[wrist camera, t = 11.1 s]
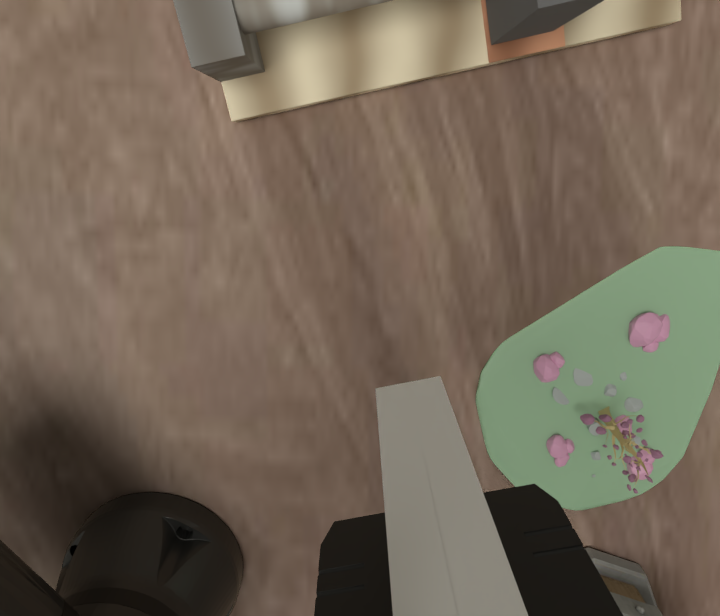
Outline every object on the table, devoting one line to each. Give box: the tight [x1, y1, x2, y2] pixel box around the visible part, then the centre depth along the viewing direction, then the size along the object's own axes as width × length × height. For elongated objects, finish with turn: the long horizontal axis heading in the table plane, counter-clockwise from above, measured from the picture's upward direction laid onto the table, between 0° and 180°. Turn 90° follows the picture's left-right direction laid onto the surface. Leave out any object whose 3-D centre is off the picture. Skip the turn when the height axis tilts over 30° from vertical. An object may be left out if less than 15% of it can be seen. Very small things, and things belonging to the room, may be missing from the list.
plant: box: [476, 246, 720, 510], centre depth 39 cm, size 25×21×9 cm
